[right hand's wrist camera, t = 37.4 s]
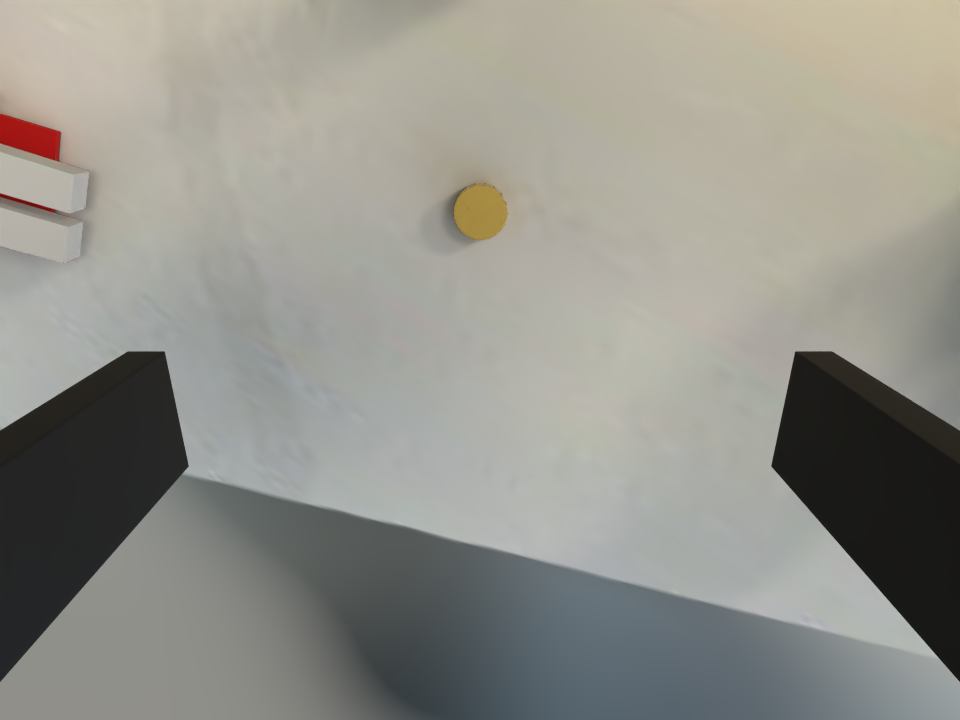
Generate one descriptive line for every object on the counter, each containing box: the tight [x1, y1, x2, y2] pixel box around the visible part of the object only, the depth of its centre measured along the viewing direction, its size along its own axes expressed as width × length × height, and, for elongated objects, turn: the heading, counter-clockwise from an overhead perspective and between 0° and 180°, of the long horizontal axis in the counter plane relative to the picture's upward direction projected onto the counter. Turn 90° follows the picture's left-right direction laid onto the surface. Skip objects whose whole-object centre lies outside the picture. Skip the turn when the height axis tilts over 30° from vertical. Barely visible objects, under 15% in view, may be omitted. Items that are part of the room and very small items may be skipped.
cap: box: [453, 183, 507, 240], centre depth 44 cm, size 4×4×2 cm
